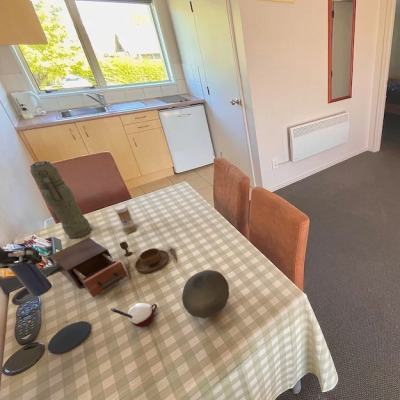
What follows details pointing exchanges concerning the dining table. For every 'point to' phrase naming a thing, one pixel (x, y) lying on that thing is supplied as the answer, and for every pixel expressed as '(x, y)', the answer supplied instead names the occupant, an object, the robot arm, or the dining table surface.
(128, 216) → the sprinkles bottle
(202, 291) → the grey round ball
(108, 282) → the drawer
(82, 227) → the olive carved slab
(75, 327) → the mat
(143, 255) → the place setting
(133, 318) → the cocoa
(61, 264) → the cabinet
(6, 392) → the dining table surface
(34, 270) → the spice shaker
